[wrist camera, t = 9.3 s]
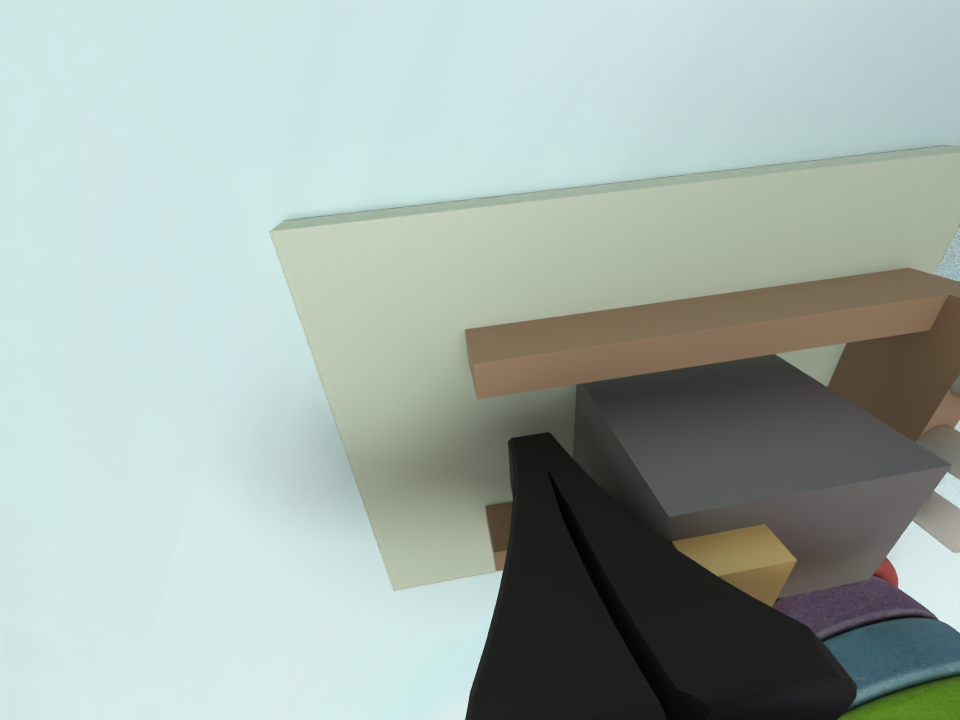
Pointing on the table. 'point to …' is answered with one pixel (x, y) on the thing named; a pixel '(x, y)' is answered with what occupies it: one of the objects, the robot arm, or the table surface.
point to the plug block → (755, 471)
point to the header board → (616, 322)
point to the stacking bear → (885, 647)
